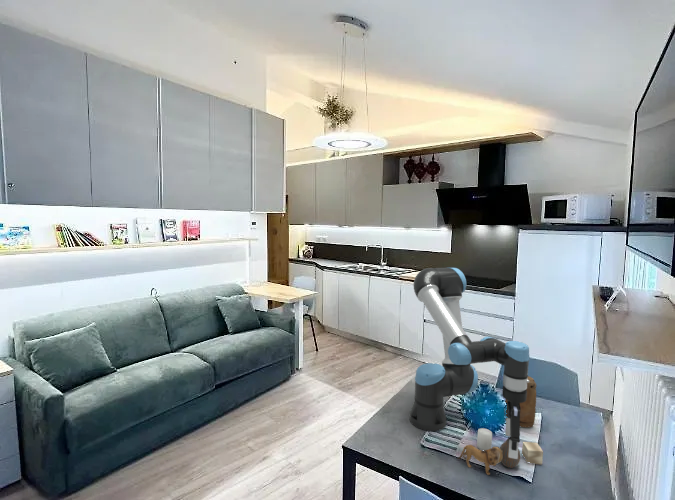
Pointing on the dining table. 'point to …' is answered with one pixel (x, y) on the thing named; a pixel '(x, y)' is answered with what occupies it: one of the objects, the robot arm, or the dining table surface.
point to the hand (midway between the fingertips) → (511, 446)
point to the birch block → (532, 452)
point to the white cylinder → (484, 439)
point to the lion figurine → (483, 456)
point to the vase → (506, 460)
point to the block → (528, 405)
